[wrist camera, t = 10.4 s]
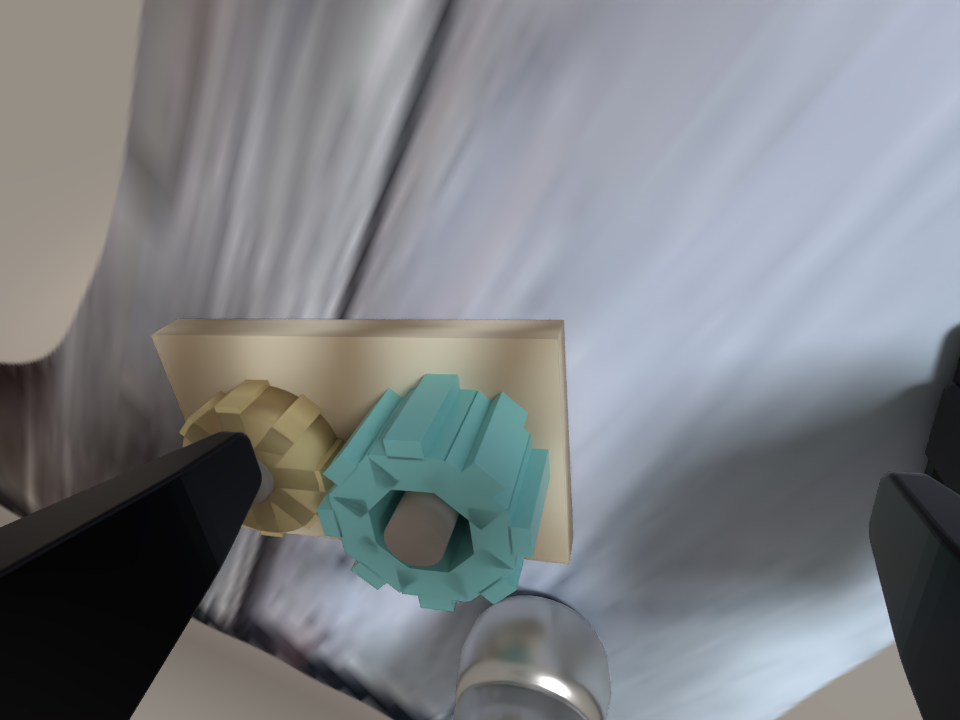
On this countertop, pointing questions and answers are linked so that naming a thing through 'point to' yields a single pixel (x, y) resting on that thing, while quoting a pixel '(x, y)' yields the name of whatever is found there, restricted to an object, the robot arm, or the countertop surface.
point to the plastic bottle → (532, 665)
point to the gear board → (363, 407)
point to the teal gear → (441, 490)
